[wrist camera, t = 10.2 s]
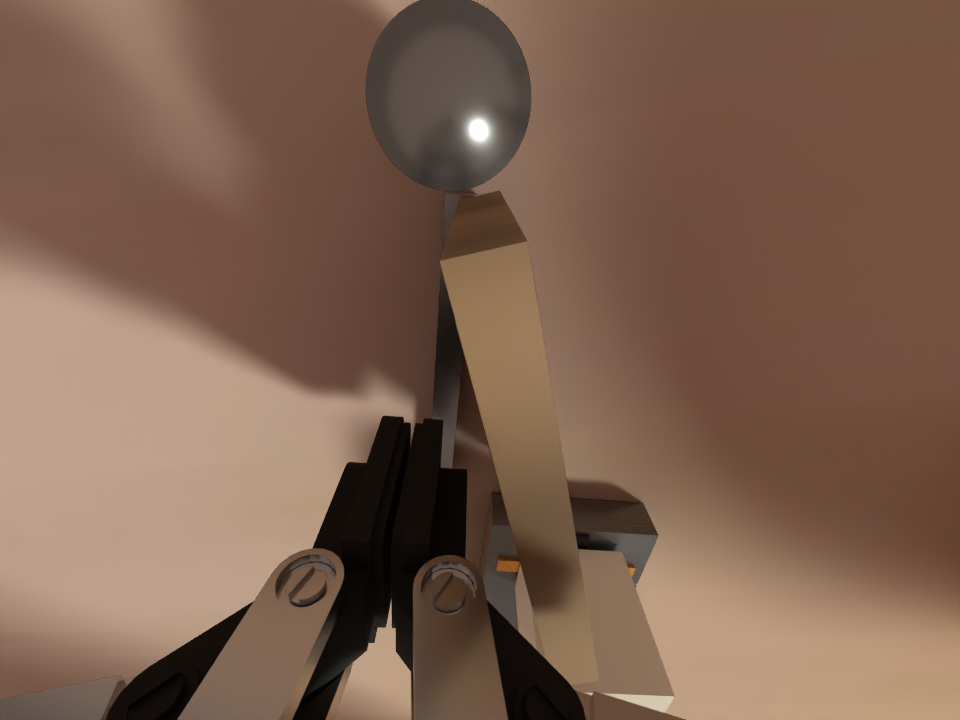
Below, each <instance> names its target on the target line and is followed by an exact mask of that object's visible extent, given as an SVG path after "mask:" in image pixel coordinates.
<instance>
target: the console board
mask: <svg viewBox="0 0 960 720" xmlns="http://www.w3.org/2000/svg"><path fill="white" fill-rule="evenodd" d="M570 504H571V510H572V516H573V522H574V528H575V534H576V540H577V546H578V549H583V550H600V551H616V552H623V555H624V558H625V561H626V563H627V566H628V569H629V572H630V574H631V577H632V580H633V583H634V585H635V588H636V585H637V583H638V581H639V579H640V576H641V574H642V572H643V569H644V567H645V565H646V563H647V560H648V558H649V556H650V553H651V551H652V549H653V547H654V544H655V542H656V540H657V537H658V534H657V532H656V529H655V527H654V525H653V523H652V521H651V519H650V517H649V515H648V512H647V510H646V508H645V506H644V504H643V503H631V502H616V501H601V500H587V499H572V498H570ZM519 567H520V561H519V558H518V554H517V550H516V546H515V543H514V539H513V535H512V531H511V528H510V524H509V520H508V517H507V513H506V509H505V505H504V502H503V498H502V494H499V493H491V500H490V506H489V513H488V519H487V526H486V532H485V539H484V545H483V551H482V558H481V564H480V571H479V572H480V574H481V576H482V579H483V582H484V587H485V593H486V598H487V600H488V601H489V602H490V603H491V604H492V605H493V606H494V607H495V608H496V609H497V610H498V611H499V612H500V614H501V615H502V616H503V617H504V618H505V619H506V620H507V621H508V622H509V623H510V624H511V625H512V626H513V627H514V628H515V629H516V630H517V631H518V632H519V630H518V618H517V607H516V596H515V585H516V580H517V576H518V571H519Z"/></svg>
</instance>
